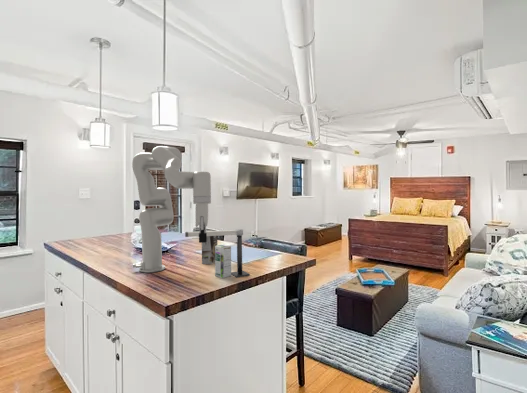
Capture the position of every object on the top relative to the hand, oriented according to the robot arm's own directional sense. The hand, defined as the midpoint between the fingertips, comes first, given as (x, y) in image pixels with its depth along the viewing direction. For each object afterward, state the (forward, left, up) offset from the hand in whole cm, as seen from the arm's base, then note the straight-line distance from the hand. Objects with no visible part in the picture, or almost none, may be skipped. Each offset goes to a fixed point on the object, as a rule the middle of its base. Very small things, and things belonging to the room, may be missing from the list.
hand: (202, 242), depth 138 cm
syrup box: (+12, +7, -19) cm, 23 cm away
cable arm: (+8, +8, +1) cm, 12 cm away
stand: (+19, +5, -18) cm, 27 cm away
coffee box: (+15, +37, -19) cm, 44 cm away
